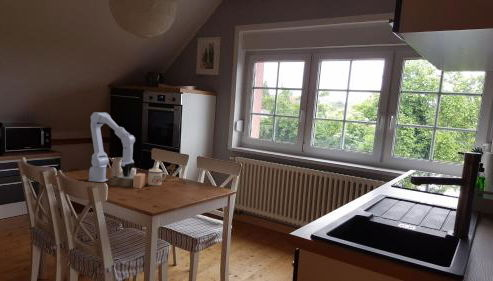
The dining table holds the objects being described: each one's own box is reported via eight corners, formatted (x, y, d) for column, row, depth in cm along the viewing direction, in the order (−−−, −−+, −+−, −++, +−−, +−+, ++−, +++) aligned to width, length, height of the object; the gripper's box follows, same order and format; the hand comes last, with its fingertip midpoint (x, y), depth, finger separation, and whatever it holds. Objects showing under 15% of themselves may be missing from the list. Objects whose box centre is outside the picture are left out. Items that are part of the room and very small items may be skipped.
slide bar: (117, 180, 217) (118, 169, 216) (119, 179, 220) (120, 169, 219) (139, 183, 216) (139, 171, 215) (141, 182, 219) (141, 171, 218)
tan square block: (132, 187, 214) (133, 175, 213) (137, 184, 222) (138, 173, 221) (140, 188, 213) (140, 176, 213) (144, 185, 221) (145, 173, 221)
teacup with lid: (151, 186, 221) (152, 168, 220) (145, 183, 227) (146, 165, 226) (168, 184, 229) (169, 167, 228) (161, 181, 235) (162, 164, 234)
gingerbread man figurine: (176, 179, 246) (177, 163, 245) (178, 180, 243) (180, 164, 242) (164, 180, 240) (165, 163, 239) (167, 181, 237) (168, 164, 236)
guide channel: (108, 184, 216) (109, 177, 216) (112, 182, 222) (113, 175, 221) (132, 186, 215) (132, 179, 215) (135, 184, 221) (136, 178, 220)
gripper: (129, 156, 209) (128, 178, 210) (138, 153, 223) (137, 174, 225) (117, 155, 209) (116, 177, 211) (127, 152, 224) (126, 173, 225)
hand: (126, 175), depth 218 cm, fingers closed on slide bar, 3 cm apart
